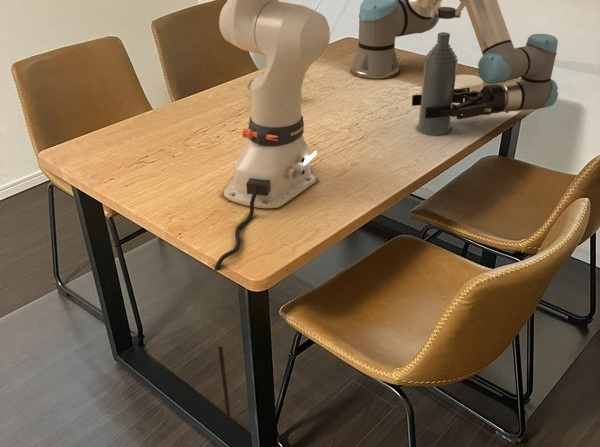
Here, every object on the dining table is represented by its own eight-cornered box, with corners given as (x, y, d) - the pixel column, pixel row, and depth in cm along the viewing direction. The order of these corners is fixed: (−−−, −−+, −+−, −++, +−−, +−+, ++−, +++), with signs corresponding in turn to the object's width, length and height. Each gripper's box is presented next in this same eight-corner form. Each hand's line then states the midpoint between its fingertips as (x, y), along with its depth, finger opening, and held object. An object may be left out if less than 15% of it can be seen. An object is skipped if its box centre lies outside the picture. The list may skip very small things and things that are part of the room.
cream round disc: (444, 85, 192) (445, 74, 190) (475, 84, 193) (477, 73, 191) (454, 97, 183) (456, 86, 181) (487, 95, 184) (489, 84, 182)
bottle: (416, 123, 168) (424, 29, 155) (446, 122, 168) (457, 29, 155) (420, 135, 161) (429, 38, 148) (451, 135, 161) (464, 38, 148)
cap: (436, 18, 148) (437, 10, 147) (437, 14, 151) (437, 6, 150) (454, 19, 147) (455, 11, 146) (454, 15, 150) (455, 7, 149)
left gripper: (409, -42, 139) (404, 20, 147) (500, -43, 139) (490, 20, 147) (405, -47, 145) (400, 14, 152) (493, -47, 145) (484, 14, 152)
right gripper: (517, 126, 158) (433, 136, 154) (479, 97, 175) (403, 105, 171) (522, 98, 154) (437, 107, 150) (483, 72, 171) (405, 79, 167)
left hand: (445, 17), depth 149 cm, fingers closed on cap, 4 cm apart
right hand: (419, 106), depth 160 cm, fingers closed on bottle, 8 cm apart
